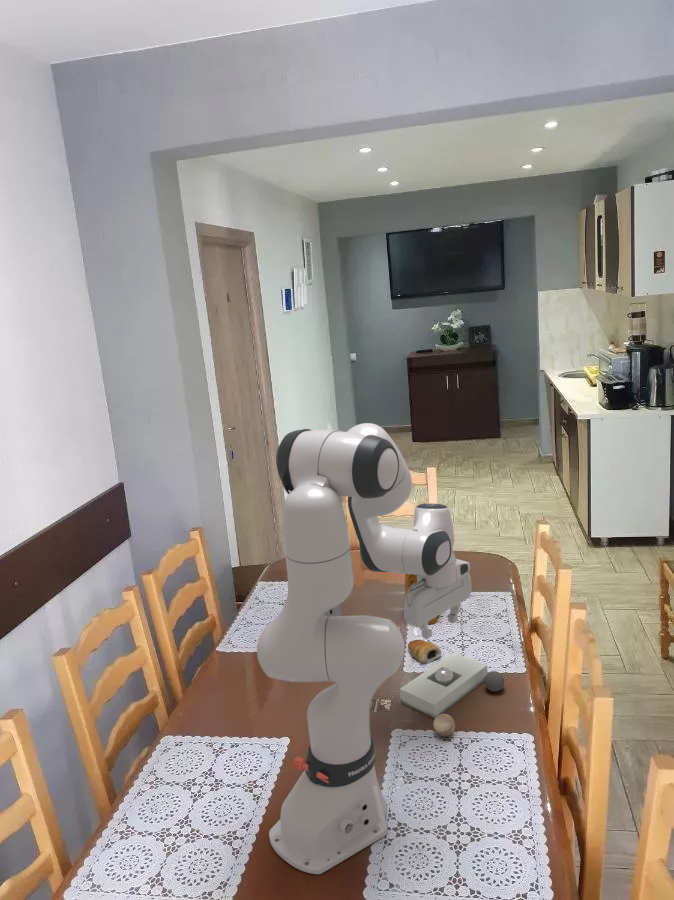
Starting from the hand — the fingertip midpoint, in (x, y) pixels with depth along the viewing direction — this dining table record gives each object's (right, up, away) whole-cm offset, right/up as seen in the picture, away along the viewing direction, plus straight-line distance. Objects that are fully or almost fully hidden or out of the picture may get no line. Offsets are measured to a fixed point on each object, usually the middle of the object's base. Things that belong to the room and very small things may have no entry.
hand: (440, 629), depth 165 cm
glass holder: (-26, -9, +42) cm, 50 cm away
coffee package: (+1, -7, +41) cm, 42 cm away
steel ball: (+1, -12, +3) cm, 13 cm away
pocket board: (+2, -15, +4) cm, 16 cm away
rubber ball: (+13, -12, +2) cm, 18 cm away
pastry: (-1, -12, +20) cm, 24 cm away
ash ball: (-1, -17, -12) cm, 21 cm away
